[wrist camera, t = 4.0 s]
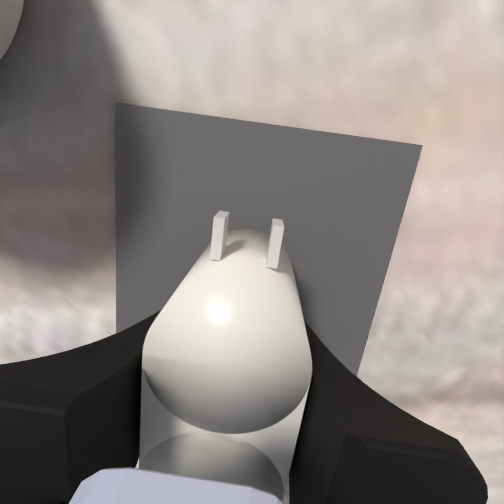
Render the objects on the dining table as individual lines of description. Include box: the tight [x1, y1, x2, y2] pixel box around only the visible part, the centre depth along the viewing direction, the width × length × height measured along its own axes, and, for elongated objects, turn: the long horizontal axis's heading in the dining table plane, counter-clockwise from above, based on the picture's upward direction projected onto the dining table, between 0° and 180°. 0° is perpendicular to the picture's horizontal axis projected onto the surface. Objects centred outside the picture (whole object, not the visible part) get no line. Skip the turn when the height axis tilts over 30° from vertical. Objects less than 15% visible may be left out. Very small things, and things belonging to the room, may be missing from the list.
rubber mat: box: [116, 103, 422, 376], centre depth 14 cm, size 16×12×1 cm
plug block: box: [139, 211, 312, 502], centre depth 10 cm, size 9×4×6 cm, turn 172°
